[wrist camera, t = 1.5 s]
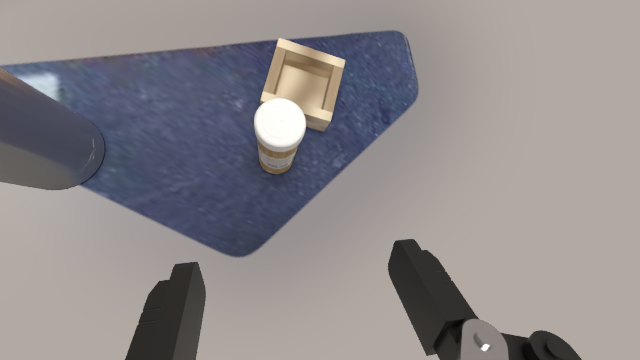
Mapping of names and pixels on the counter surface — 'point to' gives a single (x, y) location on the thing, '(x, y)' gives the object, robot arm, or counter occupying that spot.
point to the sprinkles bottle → (278, 133)
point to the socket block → (305, 81)
